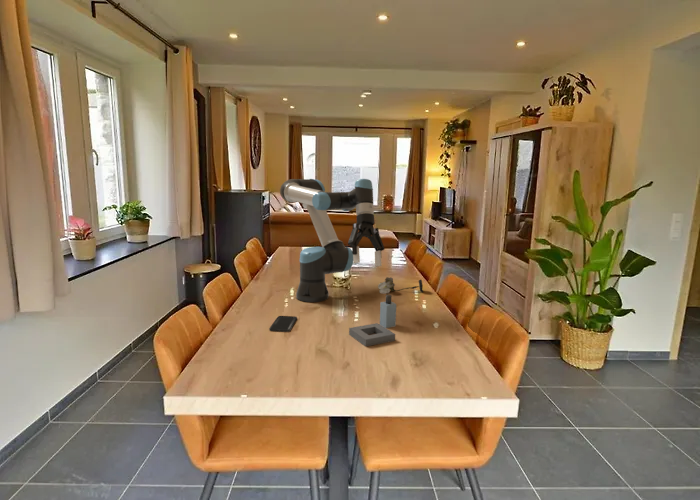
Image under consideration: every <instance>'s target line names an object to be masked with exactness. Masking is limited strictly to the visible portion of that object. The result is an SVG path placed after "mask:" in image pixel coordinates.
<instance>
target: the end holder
mask: <svg viewBox="0 0 700 500" xmlns="http://www.w3.org/2000/svg"><path fill="white" fill-rule="evenodd" d="M348 335H349V336H351V338H353V339H355V340H356V341H358V342H359V343H360V344H361V345H363V346H364V347H369V346H370V347H371V346H375V345H379V344H385V343H390V342H395V341H396V334H395V332H393V331H391V330H389V328H385V327H383V326H382V325H380V323H378V322H375V323H370V324H365V325H359V326H353V327H349V328H348Z"/></svg>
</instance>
